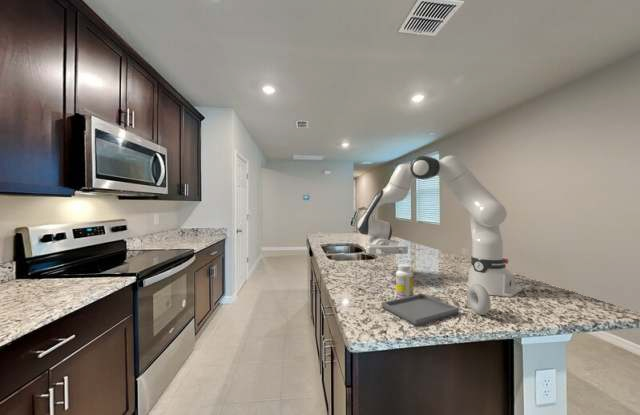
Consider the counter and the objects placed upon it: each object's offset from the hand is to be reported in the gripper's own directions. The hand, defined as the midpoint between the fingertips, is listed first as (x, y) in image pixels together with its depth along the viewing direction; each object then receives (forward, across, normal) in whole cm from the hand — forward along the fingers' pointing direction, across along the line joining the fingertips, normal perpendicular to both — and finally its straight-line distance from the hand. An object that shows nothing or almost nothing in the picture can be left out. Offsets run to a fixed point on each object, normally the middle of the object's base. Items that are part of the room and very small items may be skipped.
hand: (392, 252), depth 115 cm
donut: (+32, +18, +16) cm, 40 cm away
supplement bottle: (+12, 0, +16) cm, 20 cm away
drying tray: (+27, -1, +16) cm, 31 cm away
